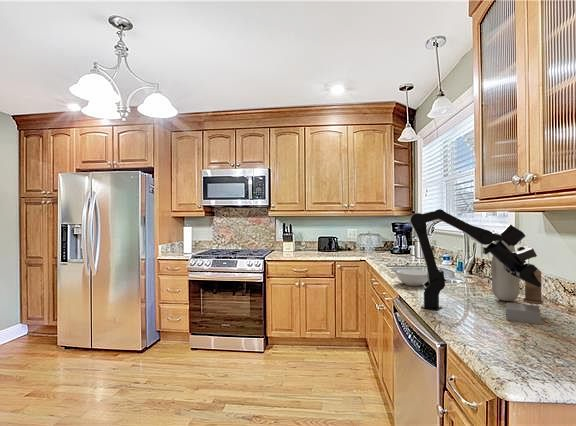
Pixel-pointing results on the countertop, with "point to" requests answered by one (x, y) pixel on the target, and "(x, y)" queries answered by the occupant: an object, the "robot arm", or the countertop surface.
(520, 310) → the slate block
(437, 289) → the robot arm
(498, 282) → the grey bottle
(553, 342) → the countertop surface
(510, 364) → the countertop surface
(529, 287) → the pepper mill
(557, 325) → the countertop surface
